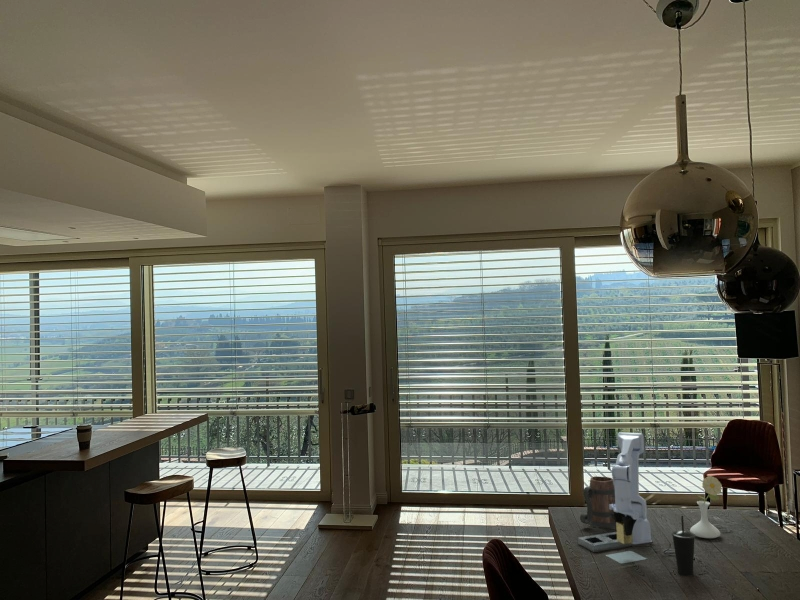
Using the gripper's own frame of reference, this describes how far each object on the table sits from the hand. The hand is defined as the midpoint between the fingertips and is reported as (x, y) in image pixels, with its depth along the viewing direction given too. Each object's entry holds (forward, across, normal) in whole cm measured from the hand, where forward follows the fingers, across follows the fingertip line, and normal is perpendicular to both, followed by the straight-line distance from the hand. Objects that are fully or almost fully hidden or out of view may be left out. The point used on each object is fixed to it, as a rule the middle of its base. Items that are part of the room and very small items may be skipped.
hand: (624, 533), depth 222 cm
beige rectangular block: (+3, 0, 0) cm, 3 cm away
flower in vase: (+10, -7, +47) cm, 48 cm away
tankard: (+10, -37, +16) cm, 41 cm away
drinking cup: (+10, +19, +10) cm, 24 cm away
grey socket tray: (+9, -14, +1) cm, 17 cm away
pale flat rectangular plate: (+9, 0, 0) cm, 9 cm away
